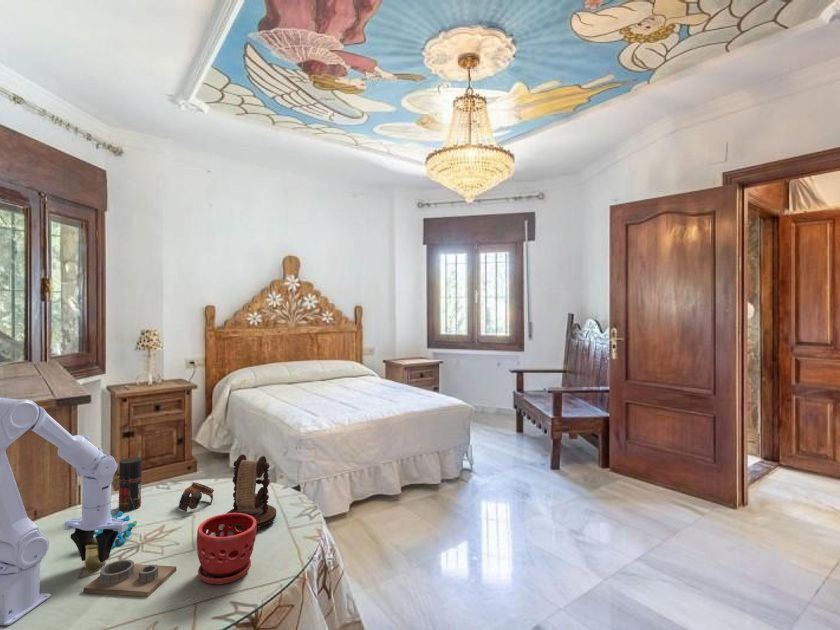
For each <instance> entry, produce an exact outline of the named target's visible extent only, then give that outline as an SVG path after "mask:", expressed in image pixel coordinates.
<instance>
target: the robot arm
mask: <svg viewBox="0 0 840 630" xmlns="http://www.w3.org/2000/svg"><path fill="white" fill-rule="evenodd" d="M28 430H31V431H32V432H34V433H35V434H37V435H38V436H40V437H41V438H43V439H45V440H46V441H47V442H49V443H50V444H52V445H54V446H55V447H57V456H58V457H59V458H61V459H63V461H65V462H66V463H67V464H69V465H70V466H72V467H74V468H75V473H76V474H77V476H81V477H82V492H81V493H82V495H81V504H82V505H81V517H79V518H69V519H68V520H66V521H64V530H65V531H70V530H74V531H73V533H70V539H71V541H72V542H74V544H75V546H76V548H77V550H78V553H79V555H80V559H81V561H82V562H85V551H86V548H85V543H86V542H87V541H89V540H91V539H93V537H96V540H97V542H98V546H99V560H100V562H104V561H105V562H106V560H108V559H109V558H110V555H111V552H112V551H111V550H112V549H113V548H112V545H113V543H114V541H115V542H116V540H117V538H116V537H117V535H118V533H122V532H123V531H125V530H126V529H127V524H128V521H122V520H118V519H119V518H117V519H115V518H114V517H112V516H113V515H111V511H112V510H111V508H112V483H113V482H114V475H115V473H116V472H117V470H118V466H119V463H117V462H116V459H115V458H114V456H112V455H110V454H104V452H103V451H104V450H103V448H101V447H99V446H98V447H97V446H96V445H94V444H93V443H92V442H90V441H91V438H90V437H89V436H88V435H82V434H76V435H75V434H74V435H72V434H71V433H70V432H69V431H67V430H66V429H65V428H64V427H63V426H62V425H61V424H60V423H59V422H58V421H56V420H55V419H54V417H52V416H51V415H49V413H48V412H47V411H46V410H45V408H44V407H42V406H39V405H38V404H37V403H36V402H35V401H33V400H30V399H18V398H17V399H16V398H7V397H3V396H0V626H10V625H12V624H14V623H15V622H16V621H18V620H19V619H20V618H22V617H23V616H25V615H26V614H27V613H29V612H31V611H32V610H33V609H35V608H36V607H38V606H39V605H40V604H42V603H43V602H45V601H46V600H48V599H49V598H50V597H51V593H41V592H40V591H41V589H40V588H41V587H40V585H41V583H40V582H41V581H40V580H41V563H42V559H44V557H45V556H46V554H47V553H48V551H49V547H50V540H49V538H48V537H47V536H46V535H44V534H43V533H42V532H41V531H40V528H39V526H38V525H37V524H36V523H35V522H34V521H33V520H32V519H30V518H29V517H28V514H27V511H26V508H25V505H24V502H23V499H22V496H21V494H20V490H19V487H18V484H17V482H16V478H15V476H14V473H13V470H12V467H11V463H10V461H9V458H8V455H7V454H8V453H7V452H6V451H7V449H8V447H9V446H11V444H13V443H14V442H15V441H16V440H17V439H19V438H20V437H21V436H22V435H23V434H24V433H26V432H28ZM98 530H103V532H102V533H100V534H98V535H95V536H94V532H95V531H98ZM122 534H123V533H122ZM115 539H116V540H115Z"/></svg>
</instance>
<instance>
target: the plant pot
mask: <svg viewBox="0 0 840 630" xmlns="http://www.w3.org/2000/svg"><path fill="white" fill-rule="evenodd" d="M226 513H227V512H226ZM226 513H221V514H217V515H214V516H212V517H211V516H210V517H209V518H207V519H206V520H204V521H202V522H201V523H200V525H199V526H198V527H197V531H196V532H197V533H196V550H197V551H196V552H197V558H198V561H199V564H200V565H199V566H198V570H197V574H198V577H199V578H200V580H202V581H203V582H205V583H208V584H211V585H223V584H224V585H225V584H227V583H228V584H229V583H231V582H235V581H237V580H238V579H240V578H242V577H243V576H245V575H246V573H248V572H249V570H250V568H251V566H252V559H251V556H252V553H253V551H254V548H255V547H254V546H255V542H256V536H257V532H256V529H257V522H256V519H255V518H254V517H252V516H250V515H248V514H243V513H227V514H226ZM237 523H241V524H242V526H243V529H240V530H239V529H236V524H237ZM229 524H233V526H232V527H229ZM220 526H223V527H222V528H220ZM247 528H249V529H247ZM229 532H232V535H229ZM221 533H222V534H223V535H221ZM211 534H214V535H215V536H213V535H212V536H211Z"/></svg>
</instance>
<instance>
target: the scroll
mask: <svg viewBox="0 0 840 630" xmlns="http://www.w3.org/2000/svg"><path fill="white" fill-rule="evenodd" d="M232 465H233V469H234V473H233V478H232V483H233V485H234V487H233V491H234V492H233V493H232V497H233V499H232V500H233V505H232V507H233V508H232V509H230V510H229V511H227V512H226V513H225V514H227V513H243V514H248V515H250V516H252V517H254V518H255V519H256V522H257V529H256V533H257V532H258V531H259V528H260V527H263V526H266V525H268V524H270V523H271V522H273V521H274V520H275V519H276V518H277V509H276V508H275V507H274V506H272V505H270V504H269V501H268V500H269V499H270V495H269V489H268V488H269V485H270V482H271V480H270V479H269V471H270V470H269V469H270V467H271V465H270V463H268V462H267V458H266V456H265V455H261V456H260V457H259V458H258V459H257V460H248V459H247V456H246V455H245V454H243V453H242V454H240V455H239V456H238V457H237V459H236V460H235V461H234V462H233V464H232ZM262 477H263V479H261V478H262ZM257 485H262V487H260V488H259V489H258V491H257V493H256V488H257ZM232 526H233V524H229V527H232ZM236 529H237V530H242V529H243V526H242V524H241V523H237V524H236ZM248 529H249V528H247V530H248Z"/></svg>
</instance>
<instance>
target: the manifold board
mask: <svg viewBox="0 0 840 630" xmlns="http://www.w3.org/2000/svg"><path fill="white" fill-rule="evenodd" d="M176 571H177V566H175V565H173V566H172V565H158V564H141V563H140V564H139V563H137V564H136V563H135V561H133V560H131V559H119V560H116V561H112V562H110V563H107V564H105V565H104V566H103V567H102V568H100V571H99V576H97V577H96V578H95V579H93V580H91V581H90V582H89V583H88V584H86V586H84V587H83V593H86V594H103V595H104V594H105V595H106V594H107V595H117V596H118V595H120V596H133V597H134V596H135V597H139V596H140V597H150V596H151V595H152V594H153V593H154V592H155V591H156V590H157V589H159V588H160V587H161V585H163V584H164V583H165V582H166V581H167V580H169V578H170V577H171V576H172V575H174V573H175V572H176Z"/></svg>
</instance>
